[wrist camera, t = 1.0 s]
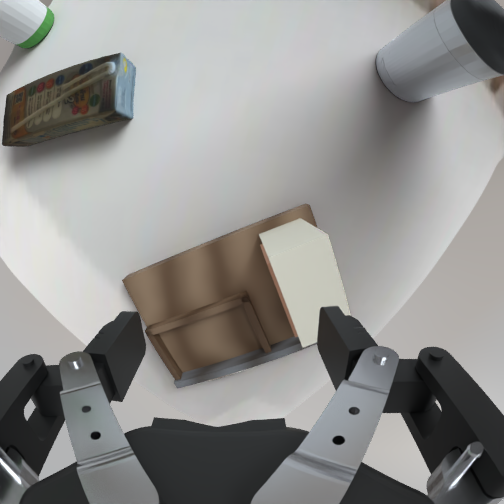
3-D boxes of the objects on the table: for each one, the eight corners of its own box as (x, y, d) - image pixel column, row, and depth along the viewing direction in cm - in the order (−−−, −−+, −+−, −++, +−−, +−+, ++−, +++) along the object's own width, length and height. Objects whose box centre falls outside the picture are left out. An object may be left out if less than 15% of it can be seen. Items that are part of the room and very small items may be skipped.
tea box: (300, 218, 31) (327, 234, 21) (323, 287, 33) (353, 326, 24) (256, 235, 31) (264, 259, 22) (282, 303, 34) (299, 349, 24)
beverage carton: (135, 122, 29) (114, 111, 23) (25, 149, 29) (-3, 148, 22) (138, 66, 28) (120, 47, 21) (29, 100, 27) (3, 93, 20)
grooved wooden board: (305, 203, 33) (314, 206, 29) (340, 317, 37) (351, 331, 33) (127, 275, 34) (116, 286, 30) (182, 372, 38) (178, 389, 34)
